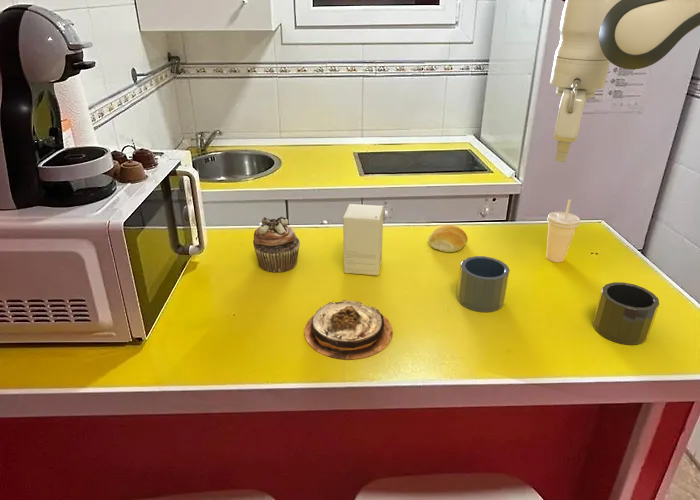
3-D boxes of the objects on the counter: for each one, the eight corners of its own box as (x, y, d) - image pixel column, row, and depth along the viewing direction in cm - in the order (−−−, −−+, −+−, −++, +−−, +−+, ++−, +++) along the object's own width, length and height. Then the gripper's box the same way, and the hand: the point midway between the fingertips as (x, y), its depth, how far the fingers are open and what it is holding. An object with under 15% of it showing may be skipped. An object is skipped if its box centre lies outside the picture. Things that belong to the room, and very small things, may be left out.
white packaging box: (382, 259, 112) (384, 205, 106) (378, 276, 105) (380, 219, 99) (348, 256, 113) (349, 202, 107) (342, 273, 106) (342, 216, 100)
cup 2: (645, 322, 92) (656, 288, 89) (649, 350, 85) (661, 315, 82) (592, 311, 95) (601, 278, 92) (592, 337, 88) (602, 303, 85)
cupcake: (257, 277, 105) (253, 232, 100) (253, 255, 113) (249, 212, 108) (304, 272, 107) (302, 228, 102) (297, 250, 115) (295, 209, 110)
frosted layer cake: (369, 370, 80) (370, 348, 78) (287, 342, 86) (286, 322, 84) (404, 320, 92) (406, 300, 90) (330, 299, 98) (330, 280, 96)
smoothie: (549, 266, 109) (562, 205, 103) (534, 252, 115) (545, 193, 108) (576, 263, 111) (591, 202, 104) (560, 250, 116) (573, 191, 110)
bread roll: (470, 240, 120) (472, 224, 118) (458, 256, 113) (460, 239, 111) (436, 232, 124) (438, 217, 122) (423, 247, 117) (424, 231, 115)
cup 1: (506, 293, 100) (512, 261, 97) (500, 316, 93) (505, 283, 90) (462, 283, 103) (466, 252, 100) (452, 306, 96) (456, 273, 93)
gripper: (597, 86, 79) (578, 172, 86) (599, 67, 96) (582, 141, 102) (554, 83, 81) (538, 167, 88) (562, 65, 98) (549, 137, 105)
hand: (562, 153), depth 95 cm, fingers open, 8 cm apart
